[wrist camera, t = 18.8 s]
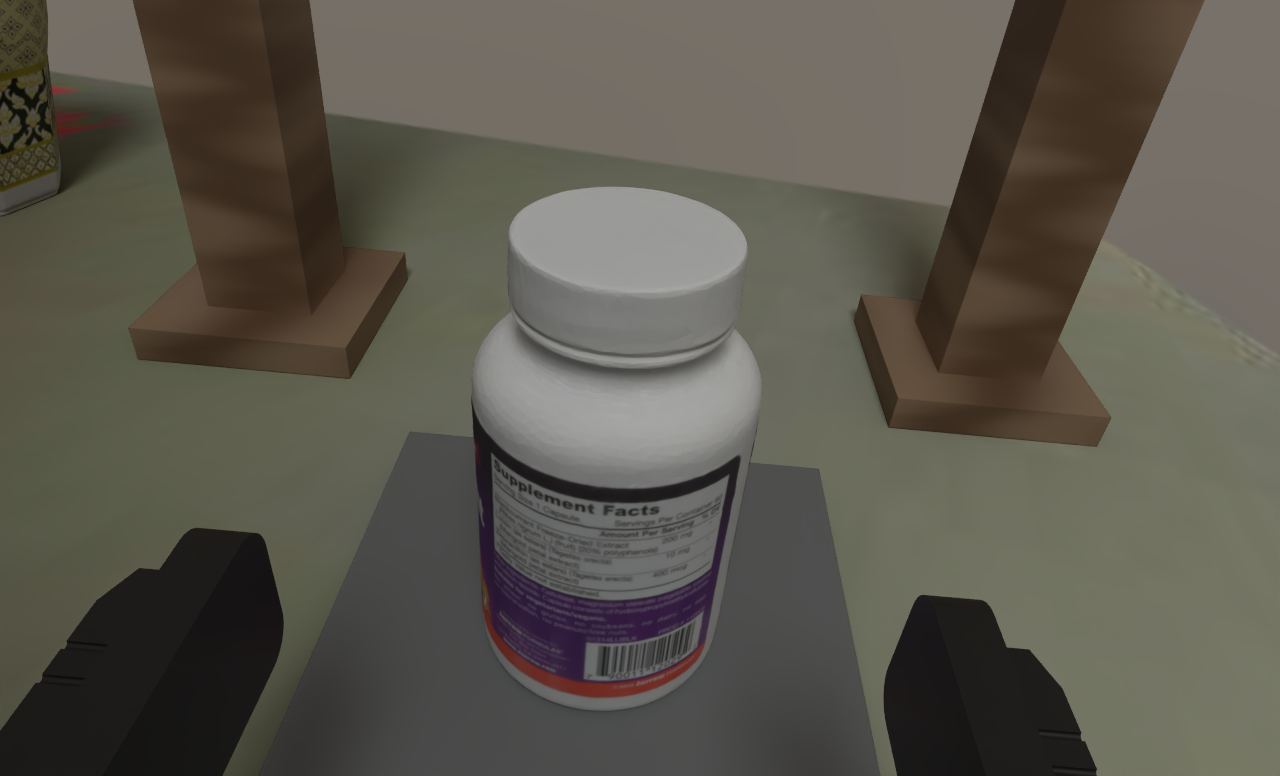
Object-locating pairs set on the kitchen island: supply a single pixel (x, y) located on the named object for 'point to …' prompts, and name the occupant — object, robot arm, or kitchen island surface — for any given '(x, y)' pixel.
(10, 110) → the ceramic cup
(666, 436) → the pill bottle
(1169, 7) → the walnut post
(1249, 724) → the kitchen island surface
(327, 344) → the walnut post
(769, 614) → the charcoal mat
